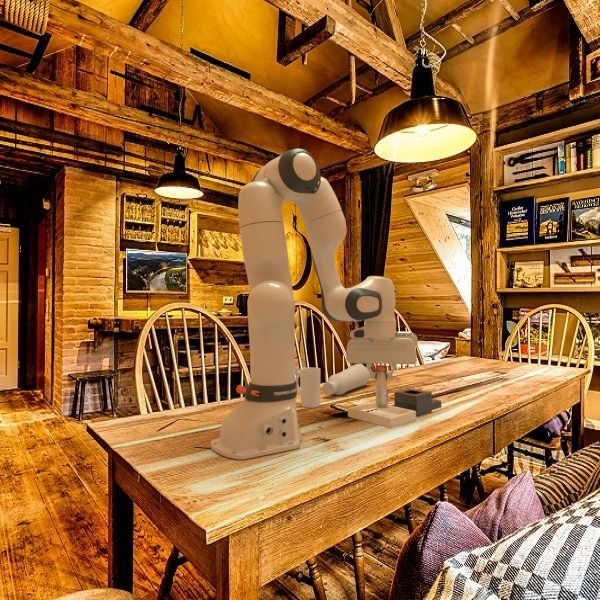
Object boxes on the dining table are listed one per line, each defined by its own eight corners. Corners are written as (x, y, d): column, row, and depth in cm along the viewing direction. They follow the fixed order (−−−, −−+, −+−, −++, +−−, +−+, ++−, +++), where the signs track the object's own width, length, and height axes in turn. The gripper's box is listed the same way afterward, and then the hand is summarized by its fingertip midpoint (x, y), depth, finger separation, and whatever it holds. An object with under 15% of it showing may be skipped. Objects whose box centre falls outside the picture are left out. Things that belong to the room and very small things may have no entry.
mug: (324, 405, 138) (324, 368, 138) (311, 409, 133) (311, 371, 133) (302, 400, 145) (302, 366, 145) (288, 404, 140) (288, 368, 140)
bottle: (347, 375, 176) (312, 390, 151) (358, 358, 174) (324, 370, 148) (364, 389, 172) (331, 407, 147) (376, 372, 170) (344, 387, 144)
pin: (380, 408, 120) (379, 366, 120) (373, 406, 123) (373, 365, 123) (390, 407, 121) (389, 366, 121) (383, 405, 124) (383, 364, 124)
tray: (391, 428, 112) (391, 418, 112) (348, 416, 124) (347, 408, 124) (416, 420, 120) (415, 411, 120) (373, 409, 132) (373, 401, 132)
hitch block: (416, 416, 123) (416, 396, 123) (394, 411, 129) (394, 392, 129) (445, 407, 134) (445, 388, 134) (423, 403, 140) (423, 385, 140)
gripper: (417, 330, 123) (418, 378, 122) (348, 330, 128) (348, 376, 128) (417, 332, 117) (418, 382, 116) (344, 332, 122) (345, 379, 122)
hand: (381, 379), depth 122 cm, fingers closed on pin, 3 cm apart
